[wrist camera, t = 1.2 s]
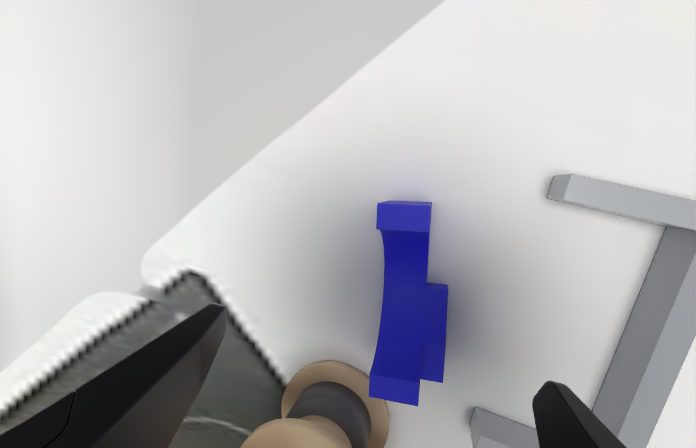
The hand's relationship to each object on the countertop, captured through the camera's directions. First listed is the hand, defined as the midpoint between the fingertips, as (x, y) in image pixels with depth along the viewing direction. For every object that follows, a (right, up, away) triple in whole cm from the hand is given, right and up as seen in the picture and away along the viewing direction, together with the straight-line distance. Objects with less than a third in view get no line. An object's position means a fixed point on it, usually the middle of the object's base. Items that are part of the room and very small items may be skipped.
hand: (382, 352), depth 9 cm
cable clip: (+4, -1, +16) cm, 17 cm away
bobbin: (-2, -12, +19) cm, 22 cm away
